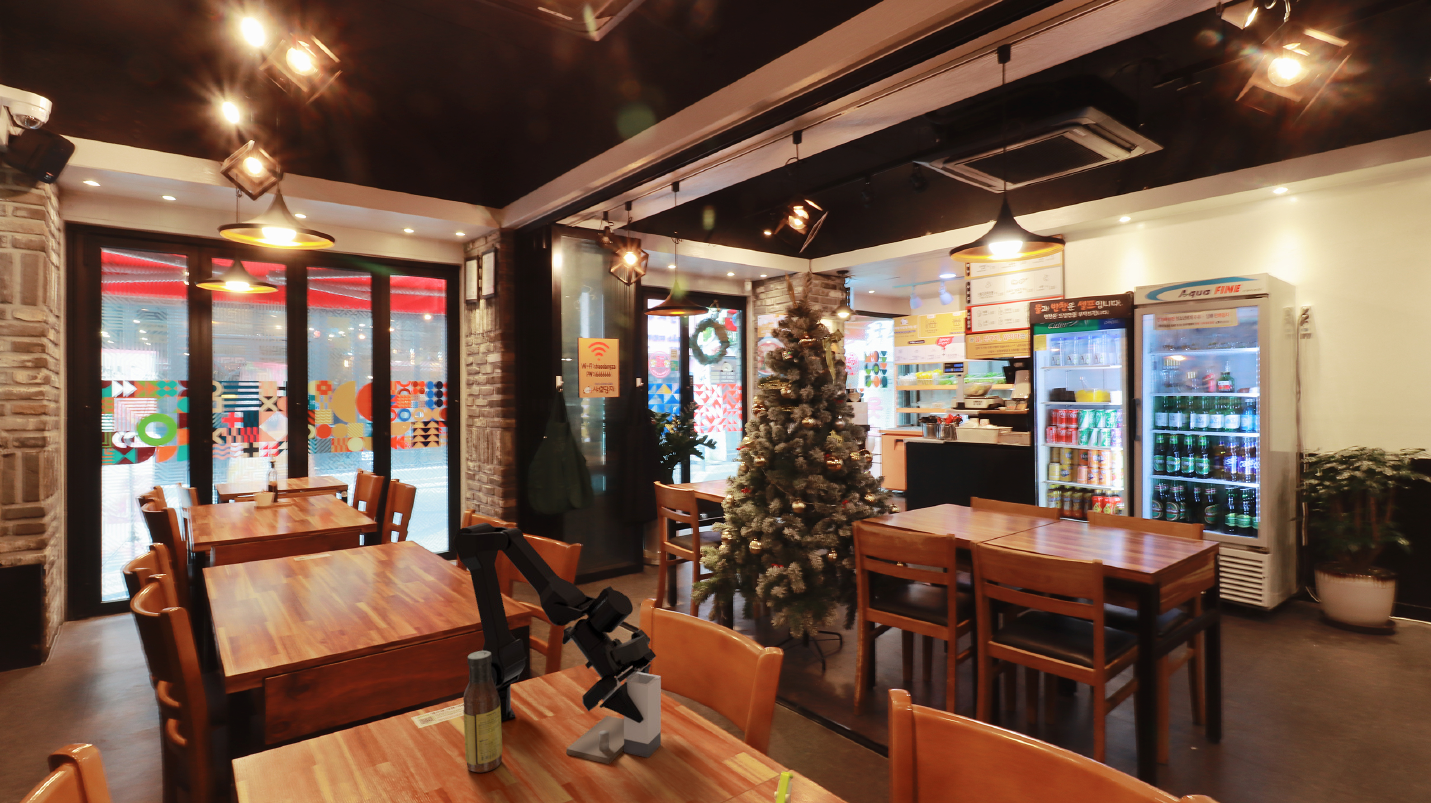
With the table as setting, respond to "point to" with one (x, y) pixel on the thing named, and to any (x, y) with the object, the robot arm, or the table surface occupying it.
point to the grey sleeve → (644, 715)
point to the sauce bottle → (482, 716)
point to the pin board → (593, 741)
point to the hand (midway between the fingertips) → (649, 714)
